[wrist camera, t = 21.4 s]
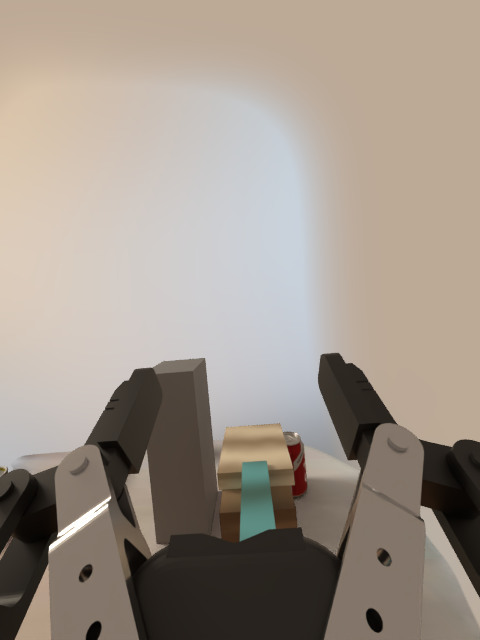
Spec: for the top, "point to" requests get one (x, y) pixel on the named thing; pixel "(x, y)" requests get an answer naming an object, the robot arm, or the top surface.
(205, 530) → the charcoal plinth
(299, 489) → the soda can
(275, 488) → the walnut block
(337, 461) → the top surface
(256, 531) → the tan strapped package
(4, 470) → the ceramic cup
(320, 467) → the top surface
